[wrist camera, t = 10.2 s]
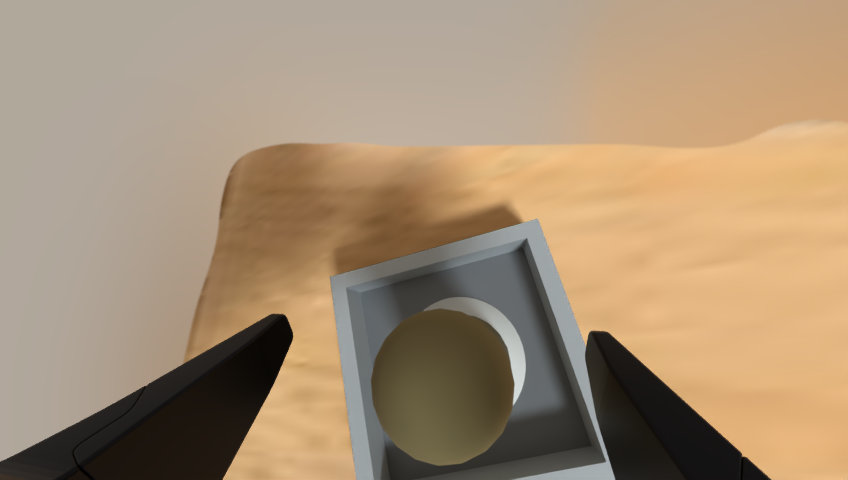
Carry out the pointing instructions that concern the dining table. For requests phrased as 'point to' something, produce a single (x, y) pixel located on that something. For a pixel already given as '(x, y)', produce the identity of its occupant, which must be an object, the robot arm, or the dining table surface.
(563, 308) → the walled pen
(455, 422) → the cork
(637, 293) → the dining table surface
